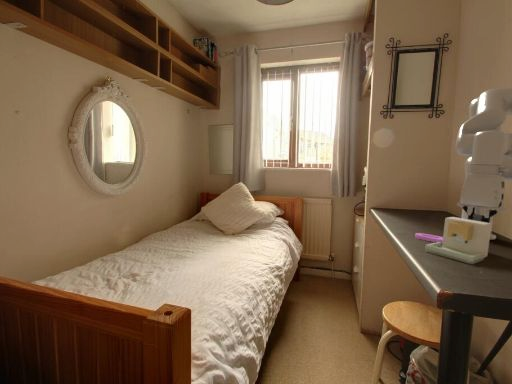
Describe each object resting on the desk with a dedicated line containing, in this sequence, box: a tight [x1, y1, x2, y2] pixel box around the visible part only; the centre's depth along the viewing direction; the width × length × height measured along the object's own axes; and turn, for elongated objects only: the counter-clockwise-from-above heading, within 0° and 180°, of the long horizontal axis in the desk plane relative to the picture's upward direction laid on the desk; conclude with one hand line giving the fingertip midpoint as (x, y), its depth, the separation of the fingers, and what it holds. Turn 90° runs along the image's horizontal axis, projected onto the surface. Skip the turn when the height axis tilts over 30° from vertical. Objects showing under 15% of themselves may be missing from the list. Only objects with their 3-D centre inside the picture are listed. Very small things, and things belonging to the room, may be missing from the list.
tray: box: [424, 242, 486, 265], centre depth 79 cm, size 8×12×2 cm, turn 31°
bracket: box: [414, 232, 443, 245], centre depth 95 cm, size 13×6×7 cm, turn 45°
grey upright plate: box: [455, 214, 484, 243], centre depth 83 cm, size 13×2×7 cm, turn 121°
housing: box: [441, 216, 493, 258], centre depth 82 cm, size 5×10×10 cm, turn 31°
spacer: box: [447, 222, 474, 241], centre depth 80 cm, size 3×5×4 cm
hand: (477, 227), depth 86 cm, fingers closed on grey upright plate, 2 cm apart
